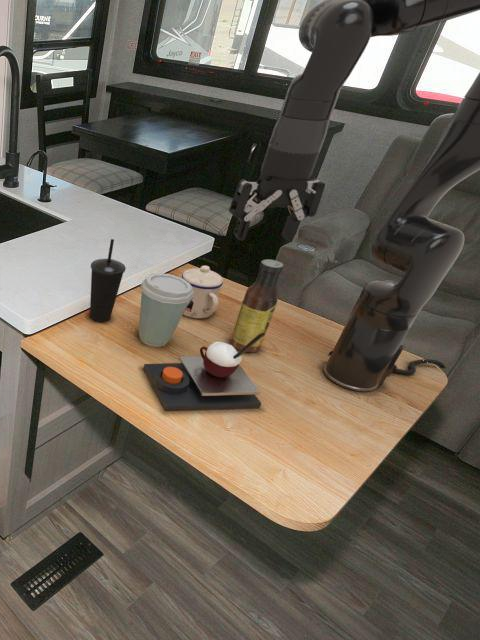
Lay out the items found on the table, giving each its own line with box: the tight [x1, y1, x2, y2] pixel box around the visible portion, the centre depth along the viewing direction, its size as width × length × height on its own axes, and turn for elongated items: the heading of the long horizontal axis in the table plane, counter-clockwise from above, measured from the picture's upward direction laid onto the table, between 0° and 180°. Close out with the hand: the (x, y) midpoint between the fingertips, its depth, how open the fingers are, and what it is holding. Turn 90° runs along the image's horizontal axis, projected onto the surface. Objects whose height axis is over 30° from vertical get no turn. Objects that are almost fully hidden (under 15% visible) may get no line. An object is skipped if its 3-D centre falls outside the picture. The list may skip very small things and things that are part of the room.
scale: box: [142, 362, 262, 412], centre depth 102 cm, size 18×13×3 cm
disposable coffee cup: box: [138, 272, 194, 348], centre depth 112 cm, size 11×11×15 cm
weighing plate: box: [178, 355, 261, 396], centre depth 101 cm, size 11×12×1 cm
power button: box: [162, 367, 183, 384], centre depth 101 cm, size 4×4×2 cm
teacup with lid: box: [181, 265, 224, 319], centre depth 123 cm, size 12×9×12 cm
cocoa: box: [199, 333, 266, 378], centre depth 97 cm, size 10×6×12 cm, turn 10°
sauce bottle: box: [230, 258, 284, 353], centre depth 109 cm, size 6×6×20 cm
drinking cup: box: [89, 238, 127, 324], centre depth 119 cm, size 8×8×20 cm
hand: (262, 238), depth 94 cm, fingers open, 8 cm apart
